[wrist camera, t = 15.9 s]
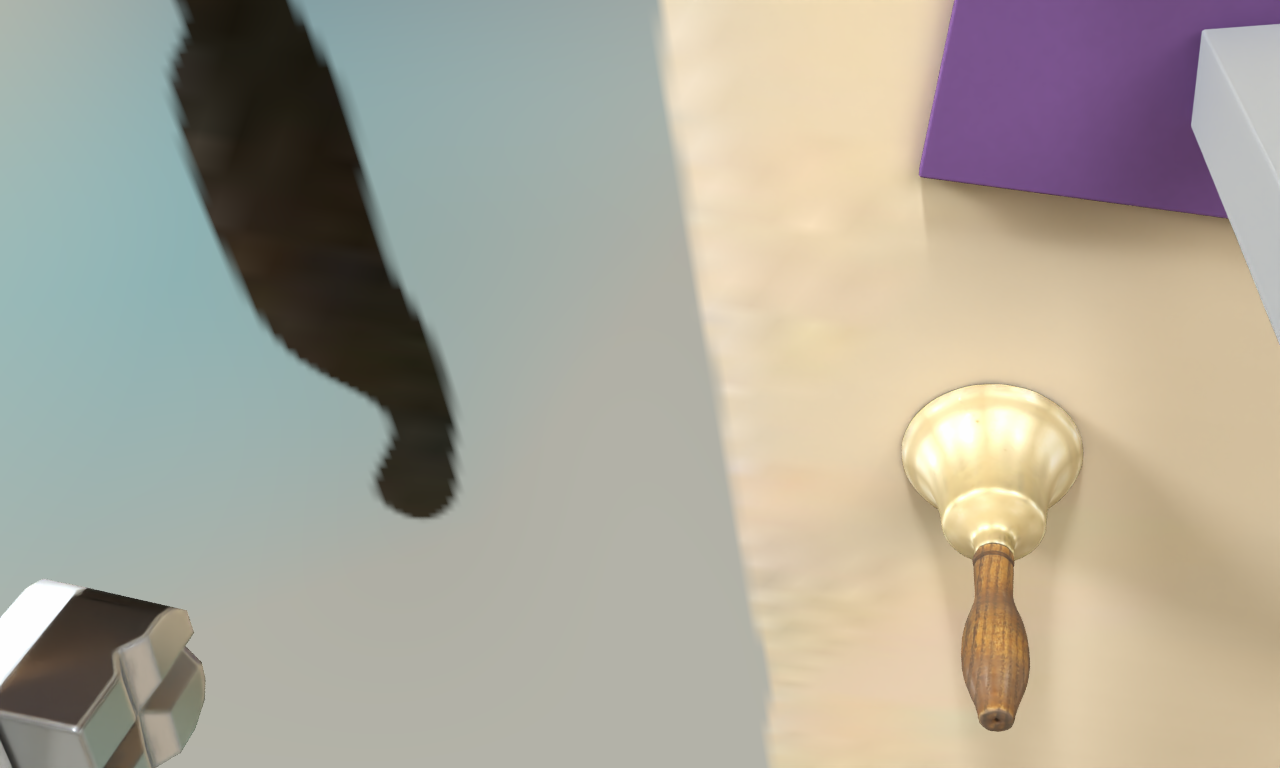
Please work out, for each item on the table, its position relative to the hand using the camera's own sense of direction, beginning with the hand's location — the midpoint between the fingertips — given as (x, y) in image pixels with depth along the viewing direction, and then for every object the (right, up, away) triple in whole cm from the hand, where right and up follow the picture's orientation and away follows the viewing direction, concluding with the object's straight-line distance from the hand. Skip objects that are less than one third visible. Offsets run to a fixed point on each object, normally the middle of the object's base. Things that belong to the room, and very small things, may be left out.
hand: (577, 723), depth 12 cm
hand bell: (+17, 0, +45) cm, 48 cm away
